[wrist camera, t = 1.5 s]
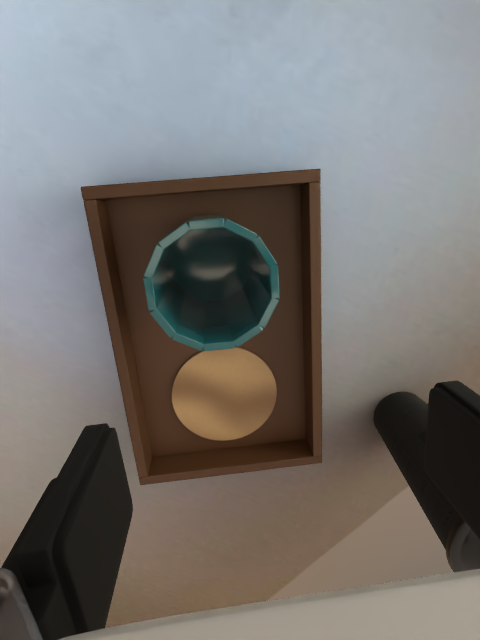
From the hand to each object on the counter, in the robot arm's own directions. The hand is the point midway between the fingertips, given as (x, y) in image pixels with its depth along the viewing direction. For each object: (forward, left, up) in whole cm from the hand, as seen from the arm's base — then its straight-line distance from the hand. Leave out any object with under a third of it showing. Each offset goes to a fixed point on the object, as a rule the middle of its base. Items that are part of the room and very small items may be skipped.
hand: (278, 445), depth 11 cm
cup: (-3, -1, -19) cm, 19 cm away
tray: (+3, -1, -20) cm, 20 cm away
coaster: (+9, -1, -19) cm, 21 cm away
